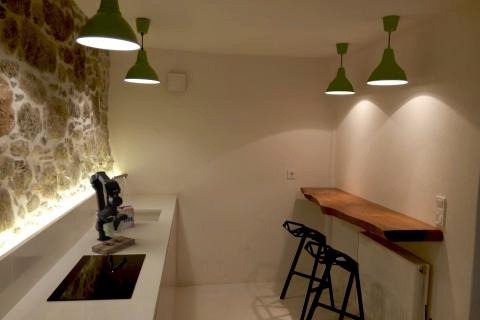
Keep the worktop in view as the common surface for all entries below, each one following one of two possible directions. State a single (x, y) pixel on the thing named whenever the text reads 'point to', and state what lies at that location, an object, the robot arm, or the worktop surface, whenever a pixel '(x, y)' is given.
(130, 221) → the gum box
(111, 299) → the worktop surface
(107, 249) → the brown wooden flat panel
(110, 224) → the sage green tapered block
